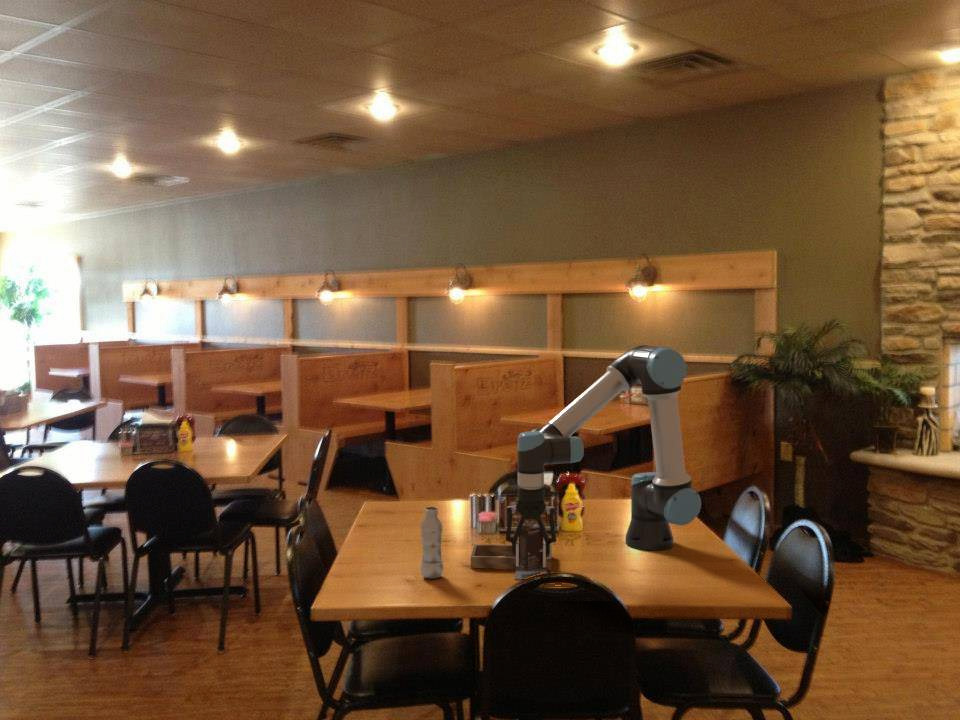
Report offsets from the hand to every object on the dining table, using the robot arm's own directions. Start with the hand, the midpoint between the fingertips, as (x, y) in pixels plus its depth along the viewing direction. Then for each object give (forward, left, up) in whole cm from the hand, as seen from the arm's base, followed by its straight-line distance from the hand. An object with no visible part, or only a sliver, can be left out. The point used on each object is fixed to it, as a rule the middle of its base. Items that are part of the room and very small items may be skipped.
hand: (530, 565), depth 249 cm
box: (0, 0, -1) cm, 1 cm away
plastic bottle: (+28, +4, -3) cm, 28 cm away
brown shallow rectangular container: (+6, -11, -3) cm, 13 cm away
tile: (0, 0, -3) cm, 3 cm away
